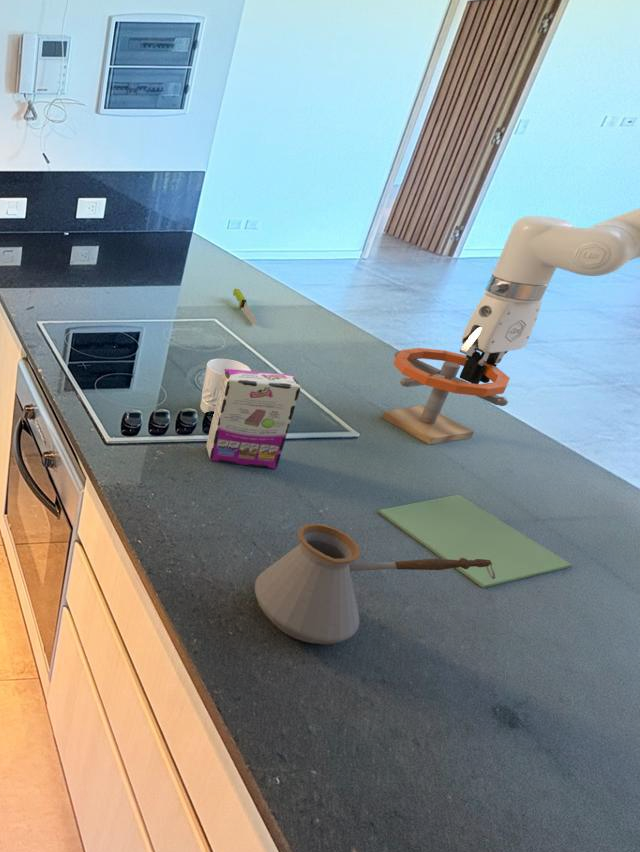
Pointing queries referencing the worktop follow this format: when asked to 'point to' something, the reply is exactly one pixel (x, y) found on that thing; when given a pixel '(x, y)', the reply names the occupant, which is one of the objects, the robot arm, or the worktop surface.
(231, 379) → the candy bar box
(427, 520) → the mat
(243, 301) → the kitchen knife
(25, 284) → the worktop surface
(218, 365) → the white cup
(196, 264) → the worktop surface
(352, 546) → the coffee pot
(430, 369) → the ring stand
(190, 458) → the worktop surface
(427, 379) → the ring
